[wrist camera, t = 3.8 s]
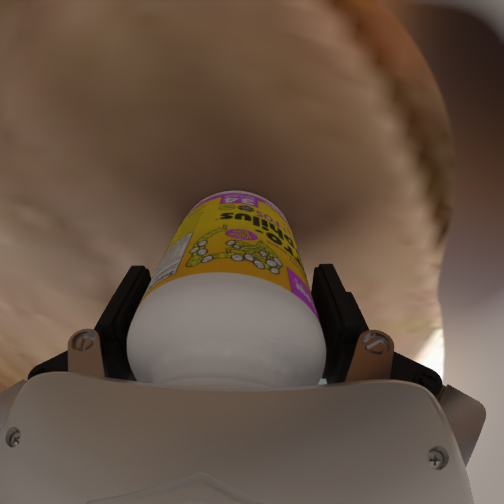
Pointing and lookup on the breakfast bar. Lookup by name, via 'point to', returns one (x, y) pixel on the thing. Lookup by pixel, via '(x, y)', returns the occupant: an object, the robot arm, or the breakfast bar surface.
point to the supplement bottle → (229, 303)
